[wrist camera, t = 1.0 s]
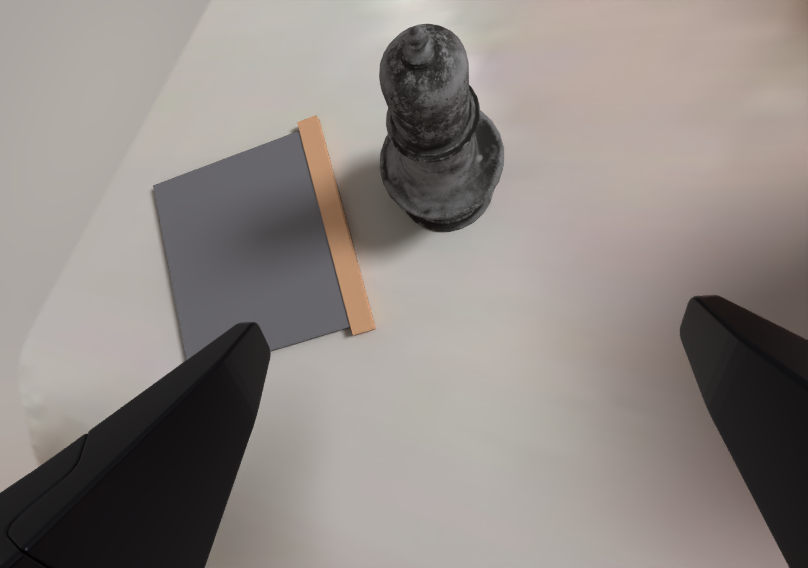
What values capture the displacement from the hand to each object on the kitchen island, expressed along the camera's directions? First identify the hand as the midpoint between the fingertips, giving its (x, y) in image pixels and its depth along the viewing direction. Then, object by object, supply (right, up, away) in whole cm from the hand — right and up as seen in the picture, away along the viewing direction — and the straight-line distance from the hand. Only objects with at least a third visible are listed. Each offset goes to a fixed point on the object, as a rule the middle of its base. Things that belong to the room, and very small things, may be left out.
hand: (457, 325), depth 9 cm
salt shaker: (+1, +6, +14) cm, 16 cm away
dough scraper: (-10, +3, +16) cm, 19 cm away
